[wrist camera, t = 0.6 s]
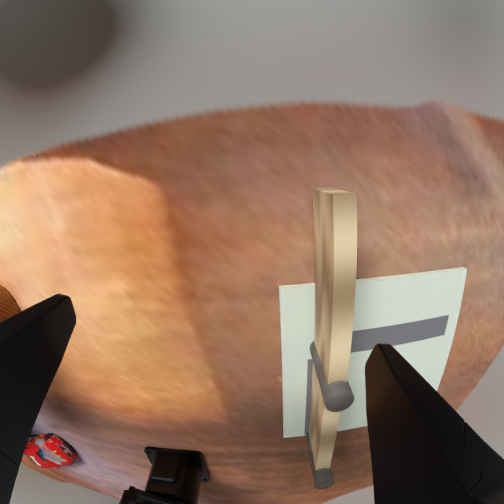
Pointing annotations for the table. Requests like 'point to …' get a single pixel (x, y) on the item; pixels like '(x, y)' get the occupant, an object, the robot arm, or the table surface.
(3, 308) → the disposable coffee cup
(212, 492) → the table surface
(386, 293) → the board
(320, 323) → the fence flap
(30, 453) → the race car
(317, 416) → the fixed fence panel
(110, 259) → the table surface
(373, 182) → the table surface
